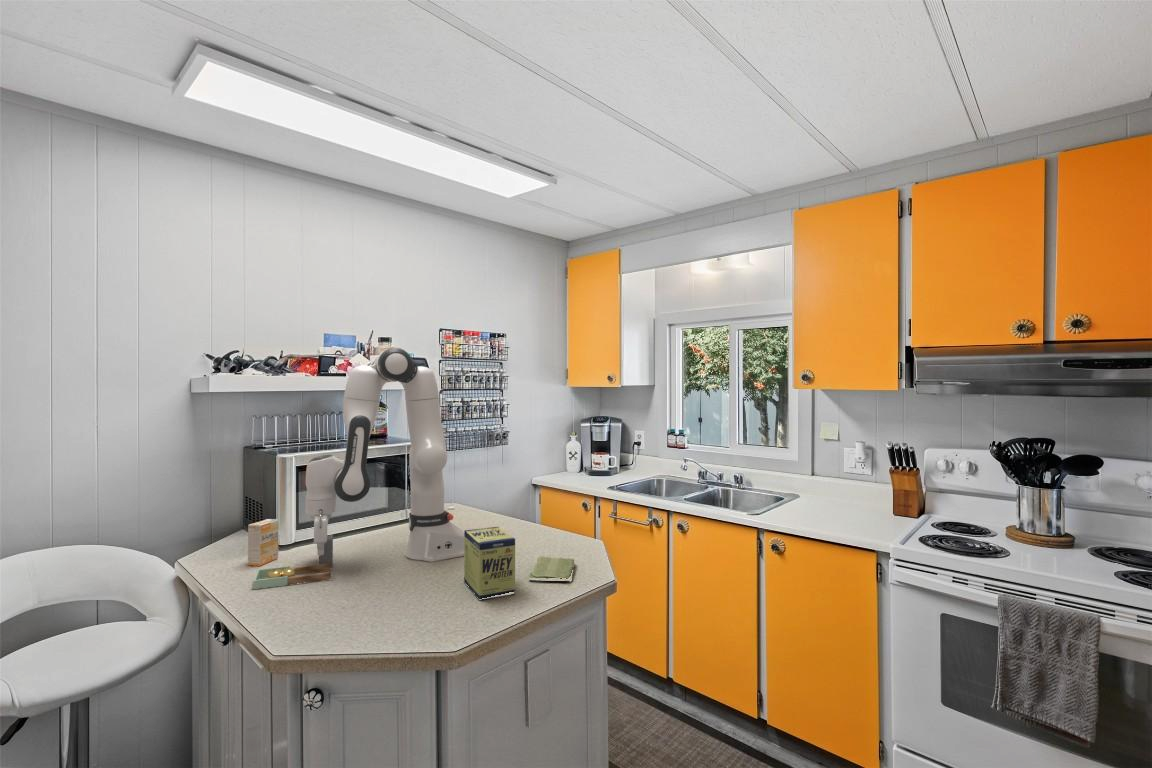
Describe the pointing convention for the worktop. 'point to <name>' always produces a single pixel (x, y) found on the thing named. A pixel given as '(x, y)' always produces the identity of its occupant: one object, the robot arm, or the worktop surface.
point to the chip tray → (269, 579)
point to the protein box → (489, 561)
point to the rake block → (327, 552)
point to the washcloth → (552, 568)
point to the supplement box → (263, 542)
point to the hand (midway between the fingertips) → (320, 550)
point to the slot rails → (310, 576)
